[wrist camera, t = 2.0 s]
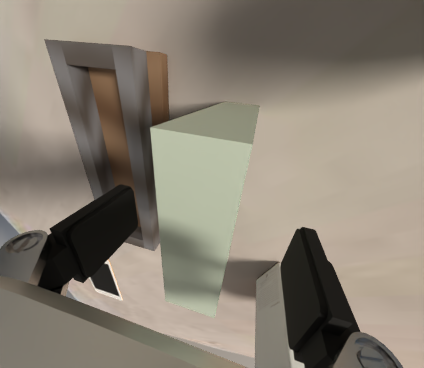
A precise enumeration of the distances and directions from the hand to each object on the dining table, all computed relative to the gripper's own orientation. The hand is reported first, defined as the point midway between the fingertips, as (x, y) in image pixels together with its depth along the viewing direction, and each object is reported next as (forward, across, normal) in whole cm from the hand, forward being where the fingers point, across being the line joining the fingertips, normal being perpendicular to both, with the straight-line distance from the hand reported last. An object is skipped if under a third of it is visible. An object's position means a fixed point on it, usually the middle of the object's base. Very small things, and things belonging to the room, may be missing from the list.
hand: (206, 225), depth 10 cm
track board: (+10, +12, +2) cm, 15 cm away
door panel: (+10, 0, -1) cm, 10 cm away
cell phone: (+11, +25, +33) cm, 43 cm away
